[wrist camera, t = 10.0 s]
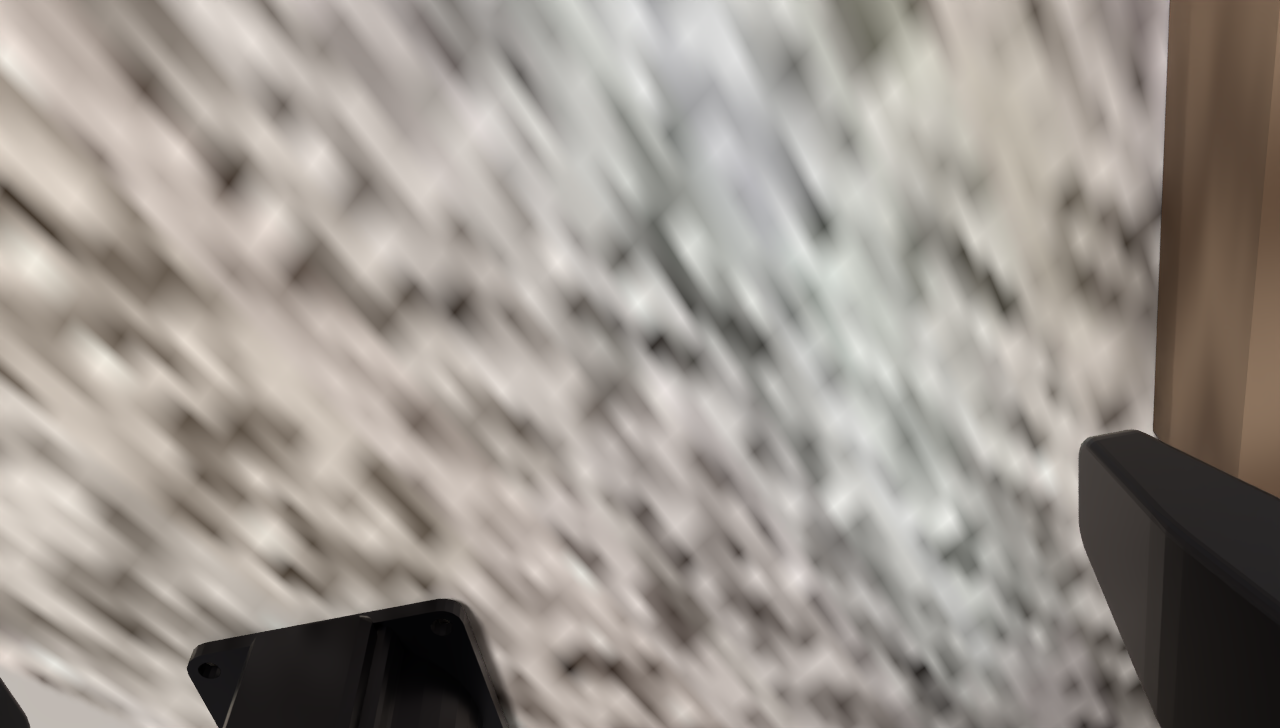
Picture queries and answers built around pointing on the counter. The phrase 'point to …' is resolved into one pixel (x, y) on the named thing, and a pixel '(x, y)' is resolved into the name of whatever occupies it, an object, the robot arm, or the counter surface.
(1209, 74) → the walnut tray
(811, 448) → the counter surface
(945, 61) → the counter surface
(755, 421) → the counter surface
